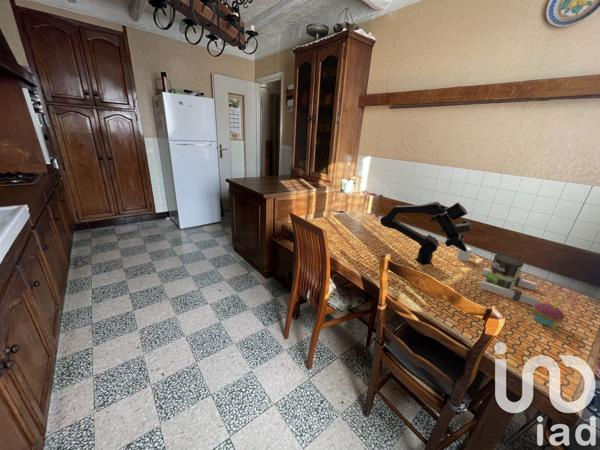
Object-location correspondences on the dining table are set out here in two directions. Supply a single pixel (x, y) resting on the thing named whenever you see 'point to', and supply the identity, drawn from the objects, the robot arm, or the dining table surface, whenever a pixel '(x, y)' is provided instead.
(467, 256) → the shot glass
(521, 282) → the guide track
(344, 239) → the dining table surface
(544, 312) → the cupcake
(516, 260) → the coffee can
